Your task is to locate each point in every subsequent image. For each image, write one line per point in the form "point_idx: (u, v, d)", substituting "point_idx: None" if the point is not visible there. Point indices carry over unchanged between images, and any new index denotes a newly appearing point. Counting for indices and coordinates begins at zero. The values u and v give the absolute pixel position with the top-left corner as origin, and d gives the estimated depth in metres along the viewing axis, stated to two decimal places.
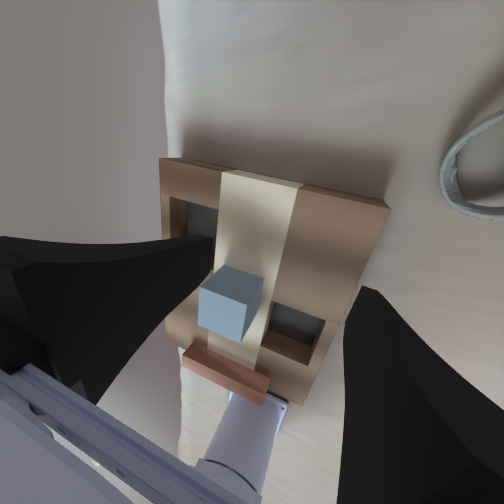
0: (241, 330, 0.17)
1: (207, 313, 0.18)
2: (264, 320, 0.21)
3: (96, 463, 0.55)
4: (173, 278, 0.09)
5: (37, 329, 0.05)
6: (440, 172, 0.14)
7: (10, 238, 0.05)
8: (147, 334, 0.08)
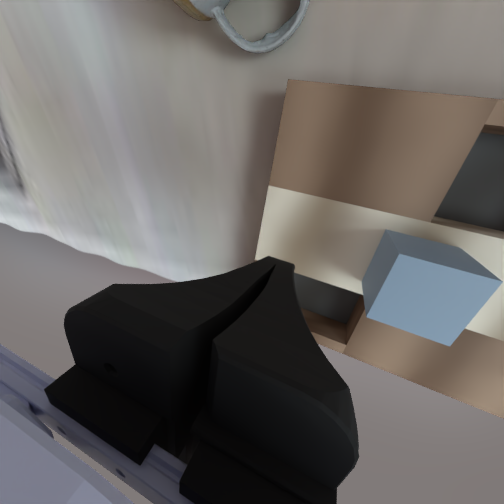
0: (462, 272, 0.10)
1: (420, 320, 0.11)
2: (481, 236, 0.12)
3: None
4: None
5: (172, 407, 0.04)
6: (267, 49, 0.14)
7: (121, 287, 0.04)
8: None
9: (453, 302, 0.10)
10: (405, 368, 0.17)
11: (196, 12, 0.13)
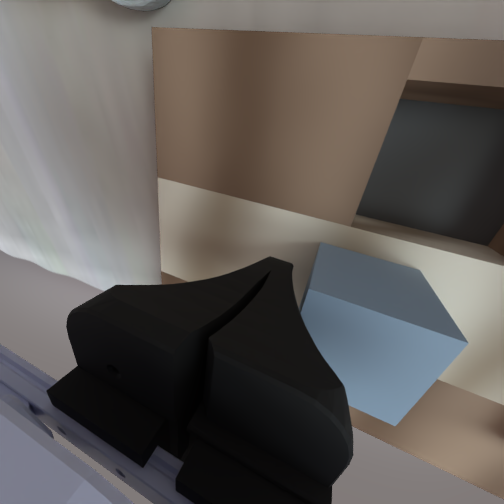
0: (404, 324, 0.06)
1: (350, 387, 0.07)
2: (416, 247, 0.09)
3: None
4: None
5: (175, 409, 0.04)
6: (145, 2, 0.10)
7: (123, 288, 0.04)
8: None
9: (394, 366, 0.06)
10: None
11: None
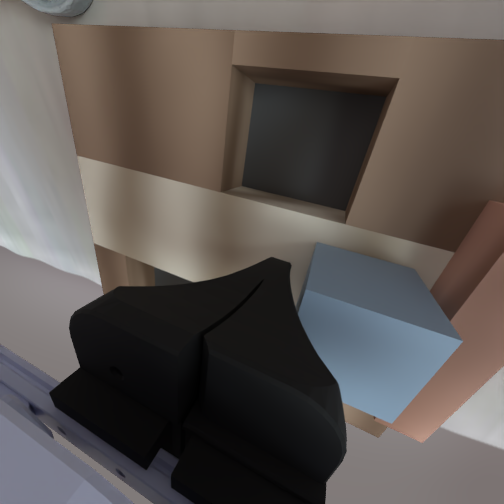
0: (400, 323, 0.06)
1: (347, 385, 0.07)
2: (268, 207, 0.10)
3: None
4: None
5: (178, 411, 0.04)
6: (61, 10, 0.12)
7: (126, 289, 0.04)
8: None
9: (391, 365, 0.06)
10: None
11: None
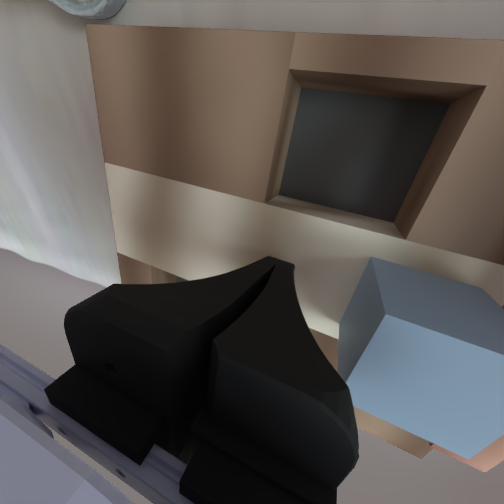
0: (498, 356, 0.05)
1: (420, 416, 0.07)
2: (317, 220, 0.10)
3: None
4: None
5: (172, 407, 0.04)
6: (94, 12, 0.11)
7: (121, 287, 0.04)
8: None
9: (478, 399, 0.06)
10: None
11: None
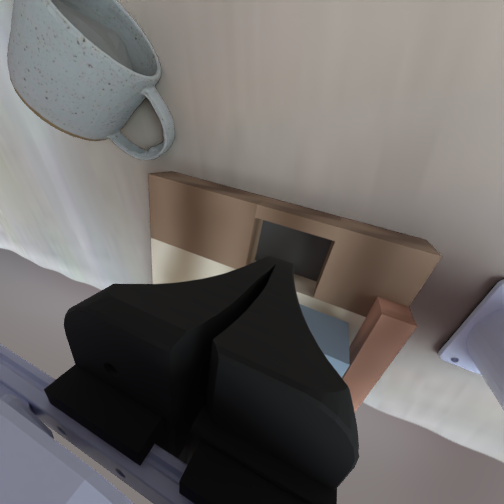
0: (326, 356, 0.14)
1: None
2: None
3: None
4: None
5: (172, 407, 0.04)
6: (150, 159, 0.20)
7: (121, 287, 0.04)
8: None
9: None
10: None
11: (95, 140, 0.19)
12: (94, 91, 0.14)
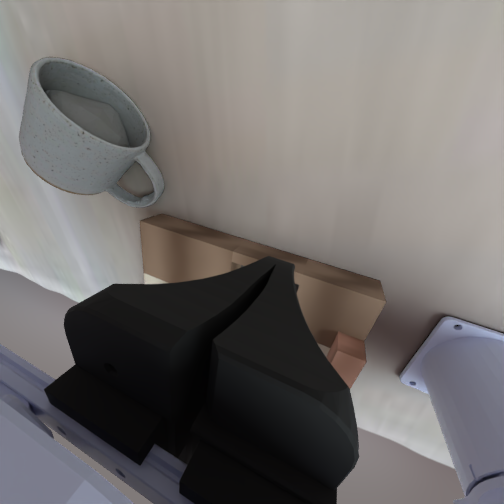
0: None
1: None
2: None
3: None
4: None
5: (172, 407, 0.04)
6: None
7: (121, 287, 0.04)
8: None
9: None
10: None
11: None
12: (92, 164, 0.17)
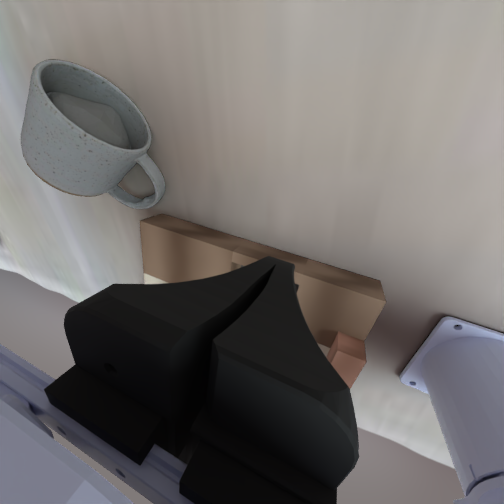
0: None
1: None
2: None
3: None
4: None
5: (172, 407, 0.04)
6: (144, 208, 0.22)
7: (121, 287, 0.04)
8: None
9: None
10: None
11: (95, 195, 0.21)
12: (94, 166, 0.17)
